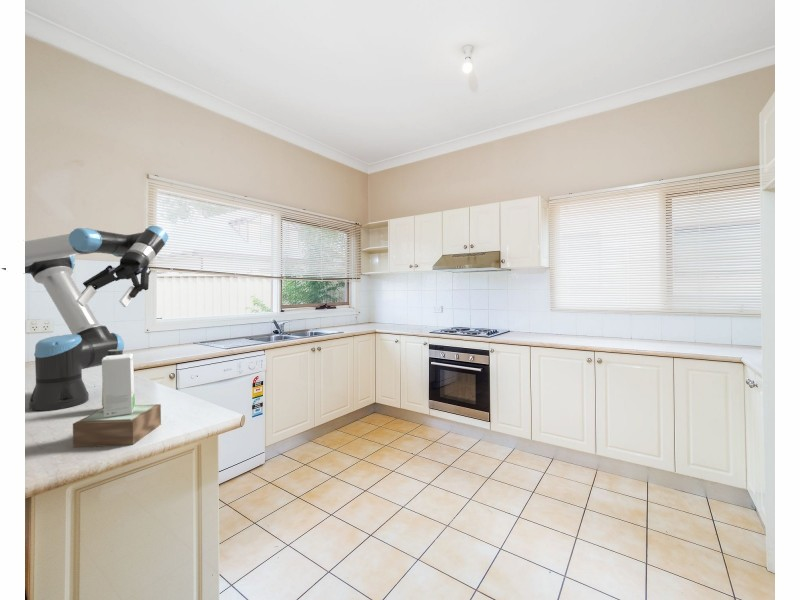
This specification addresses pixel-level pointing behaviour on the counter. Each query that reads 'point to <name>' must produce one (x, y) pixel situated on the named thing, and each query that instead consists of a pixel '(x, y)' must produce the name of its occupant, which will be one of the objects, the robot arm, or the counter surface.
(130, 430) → the riser
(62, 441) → the counter surface
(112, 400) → the skincare box
